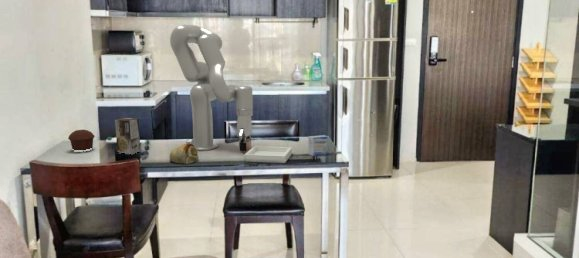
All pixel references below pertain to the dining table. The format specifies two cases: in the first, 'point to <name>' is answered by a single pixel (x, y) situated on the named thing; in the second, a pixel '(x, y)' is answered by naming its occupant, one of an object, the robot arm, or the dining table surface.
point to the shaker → (247, 145)
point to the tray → (268, 154)
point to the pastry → (184, 154)
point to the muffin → (81, 139)
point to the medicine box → (318, 145)
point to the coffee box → (127, 135)
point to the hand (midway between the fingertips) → (245, 148)
